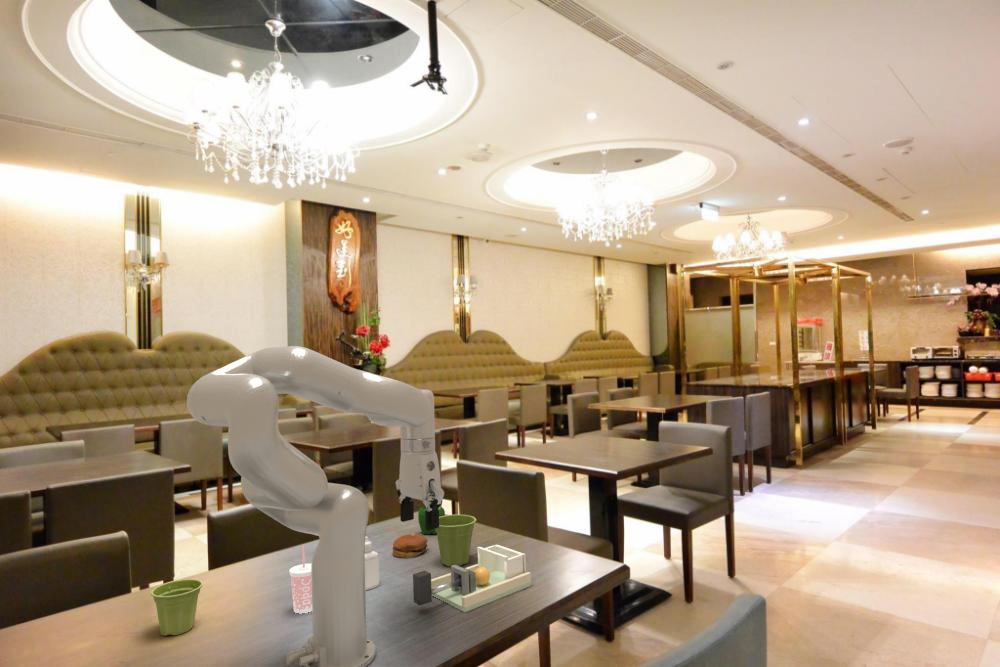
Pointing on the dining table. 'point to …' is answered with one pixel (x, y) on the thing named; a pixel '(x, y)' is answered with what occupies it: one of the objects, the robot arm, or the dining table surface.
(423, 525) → the bell pepper
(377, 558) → the eye dropper bottle
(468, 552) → the plant pot
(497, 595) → the pitch
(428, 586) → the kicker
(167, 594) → the plant pot
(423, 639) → the dining table surface
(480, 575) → the ball
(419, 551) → the burger
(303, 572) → the beverage cup
